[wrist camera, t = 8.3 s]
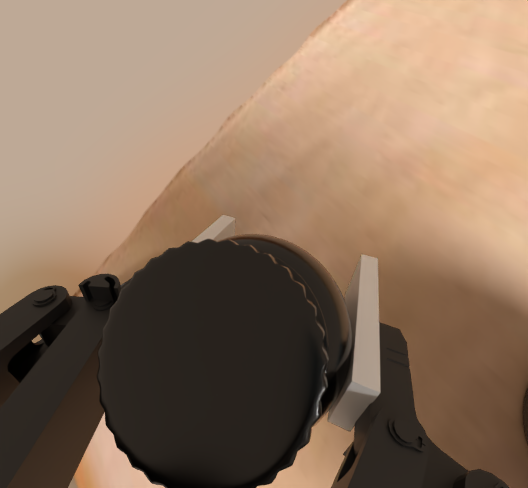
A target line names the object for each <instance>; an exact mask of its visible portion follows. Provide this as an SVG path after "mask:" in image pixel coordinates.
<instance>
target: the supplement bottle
mask: <svg viewBox="0 0 528 488" xmlns="http://www.w3.org/2000/svg"><path fill="white" fill-rule="evenodd" d="M351 354H352V330H351V322H350V318H349V313H348V310H347V306H346V303H345V301H344V298H343V296H342V294H341V291H340V290H339V288H338V286H337V284H336V282H335V281H334V279H333V278H332V276H331V275H330V274H329V272H328V271H327V270H326V269H325V268H324V266H323V265H322V264H321V263H320V262H319V261H318V260H317V259H315V258H314V257H313V256H312V255H311V254H309V253H308V252H306V251H305V250H303V249H302V248H300V247H299V246H297V245H295V244H293V243H291V242H288V241H286V240H283V239H280V238H277V237H273V236H268V235H259V234H245V235H237V236H232V237H228V238H224V239H221V240H219V241H216V240H213V239H206V240H203V241H201V242H199V243H196V242H186V243H185V244H183V245H182V246H180V247H179V248H169V249H168V250H166V251H165V252H164V253H163V254H162V255H161V256H160V257H155V258H152V259H150V261H149V262H148V263H147V265H146V266H145V267H144V268H143V269H142V270H139V271H137V272H135V273H134V275H133V277H132V279H131V281H130V283H129V284H128V285H126V286H125V287H124V288H122V289H121V291H120V294H119V297H118V300H117V301H116V303H115V304H114V305H113V306H112V307H111V308H110V312H109V318H108V321H107V323H106V325H105V326H104V328H103V329H102V343H101V345H100V348H99V350H98V360H99V369H98V372H97V380H98V384H99V386H100V395H99V402H100V404H101V406H102V408H103V409H104V411H105V421H106V426H107V427H108V429H109V430H110V431H111V432H112V433H113V434H114V438H115V442H116V446H117V448H118V449H119V450H121V451H122V452H124V453H125V454H126V455H127V457H128V459H129V461H130V463H131V465H132V467H133V468H135V469H137V470H140V471H142V472H144V474H145V475H146V477H147V478H148V480H149V481H150V482H151V483H152V484H156V485H163V486H164V487H165V488H256V487H257V486H260V485H267V484H271V483H272V482H273V481H274V479H275V478H276V476H277V473H278V472H279V471H281V470H283V469H286V468H288V467H290V466H292V465H293V462H294V460H295V458H296V454H297V451H298V450H300V449H301V448H303V447H304V446H305V445H307V444H308V443H309V441H310V437H311V431H312V427H313V426H315V425H316V424H317V423H318V422H319V421H320V420H321V419H322V418H323V417H324V416H325V415H326V413H327V412H328V411H329V410H330V409H331V407H332V406H333V404H334V403H335V401H336V399H337V398H338V396H339V394H340V392H341V390H342V388H343V385H344V383H345V380H346V377H347V374H348V370H349V367H350V361H351Z"/></svg>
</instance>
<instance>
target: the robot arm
mask: <svg viewBox="0 0 528 488" xmlns="http://www.w3.org/2000/svg"><path fill="white" fill-rule="evenodd" d="M232 236H235V218H234V217H230V216H227V215H222V216H221V217H220V218H219V219H217V220H216V221H215V222H214V223H213V224H211V225H210V226H209V227H208V228H207V229H206V230H204V231H203V232H202V233H201V234H200V235H199V236H197V237H196V238H195V239H194V240H193V241H191V242H196V243H199V242H201V241H203V240H206V239H213V240H216V241H219V240H221V239H224V238H228V237H232ZM160 256H161V255H160ZM160 256H159V257H160ZM131 279H132V278H131ZM131 279H130V280H128V281H127V282H126V283H125V284H123V285H122V286H121V285H120V282H119V279H118V278H117V277H116V276H115V275H111V274H99V275H95V276H92V277H90V278H88V279H86V280H84V281H83V282H81V283H80V284H79V288H80V290H81V292H82V294H83V296H84V297H76V296H69V294H68V292H67V290H66V288H64V287H62V286H56V285H55V286H48V287H44V288H41V289H38V290H36V291H34V292H32V293H31V294H29V295H28V296H26V297H25V298H23V299H22V300H20V301H19V302H17V303H16V304H14V305H13V306H11V307H10V308H9V309H7V310H6V311H4V312H3V313H1V314H0V488H68V486H69V484H70V482H71V480H72V478H73V476H74V474H75V472H76V470H77V468H78V466H79V463H80V461H81V459H82V457H83V455H84V453H85V451H86V449H87V447H88V445H89V443H90V441H91V439H92V437H93V435H94V432H95V430H96V428H97V426H98V424H99V422H100V420H101V418H102V416H103V414H104V412H105V411H104V409H103V408H102V406H101V404H100V402H99V395H100V386H99V384H98V380H97V372H98V369H99V360H98V350H99V348H100V345H101V343H102V329H103V328H104V326H105V325H106V323H107V321H108V318H109V312H110V308H111V307H112V306H113V305H114V304H115V303H116V301H117V300H118V297H119V294H120V291H121V289H122V288H124V287H125V286H126V285H128V284H129V283H130V281H131ZM344 301H345V303H346V306H347V310H348V313H349V318H350V322H351V330H352V354H351V361H350V367H349V370H348V374H347V377H346V380H345V383H344V385H343V388H342V390H341V392H340V394H339V396H338V398H337V399H336V401H335V403H334V404H333V406H332V407H331V409H330V410H329V414H328V422H330V423H332V424H335V425H337V426H339V427H341V428H343V429H346V430H348V431H351V430H352V428H353V427H354V426H355V432H354V442H353V443H352V444H351V445H350V446H349V447H348V449H347V450H346V451H345V452H344V453H343V455H344V456H345V458H344V460H343V462H342V465H341V467H340V469H339V471H338V473H337V476H336V478H335V480H334V482H333V484H332V487H331V488H509V487H508V486H507V485H506V484H505V483H504V482H503V481H502V480H500V479H499V478H497V477H496V476H495V475H493V474H492V473H489V472H486V471H483V470H481V469H478V470H471V471H467V470H466V469H465V468H464V467H462V466H461V465H460V464H458V463H457V462H456V461H454V460H453V459H452V458H451V457H449V456H448V455H447V454H445V453H444V452H443V451H441V450H440V449H439V448H438V447H437V446H436V445H435V444H434V443H433V442H432V441H431V440H430V439H429V438H428V437H427V435H426V433H425V430H424V429H423V427H422V426H421V424H420V423H419V421H418V419H417V417H416V412H415V407H414V399H413V390H412V382H411V374H410V369H409V358H408V350H407V342H406V341H405V339H404V337H403V335H402V333H401V331H400V330H399V329H397V328H394V327H391V326H388V325H385V324H382V323H379V288H378V258H374V257H371V256H367V255H364V254H362V255H361V257H360V259H359V262H358V264H357V267H356V269H355V271H354V274H353V276H352V279H351V281H350V284H349V286H348V288H347V291H346V293H345V300H344ZM38 334H39V335H40V336H41V338H42V339H41V340H40V341H38V342H37V343H33V342H32V340H33V339H34V338H35V337H36V336H37V335H38ZM523 420H524V429H525V434H526V438H527V442H528V390H527V393H526V397H525V401H524V410H523Z"/></svg>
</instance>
